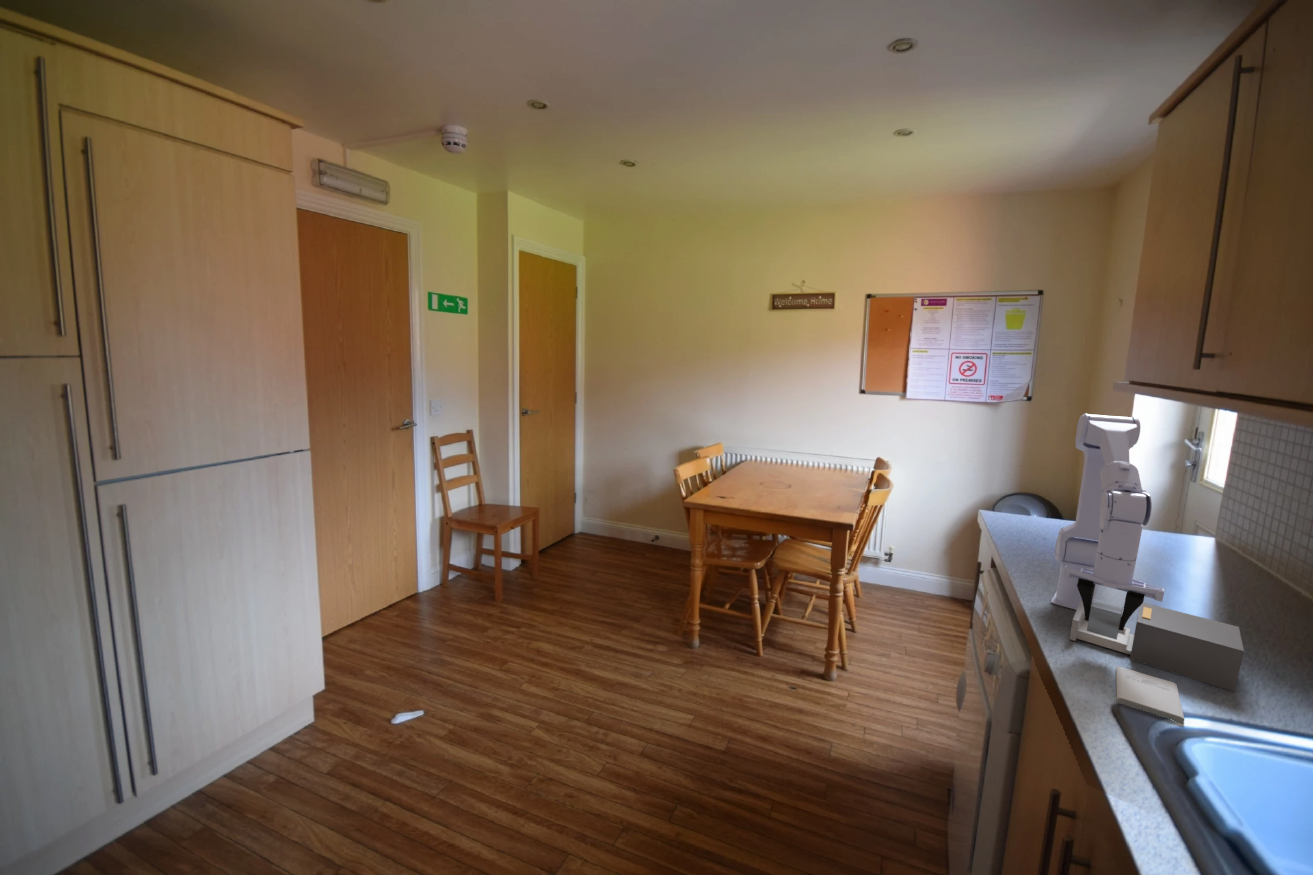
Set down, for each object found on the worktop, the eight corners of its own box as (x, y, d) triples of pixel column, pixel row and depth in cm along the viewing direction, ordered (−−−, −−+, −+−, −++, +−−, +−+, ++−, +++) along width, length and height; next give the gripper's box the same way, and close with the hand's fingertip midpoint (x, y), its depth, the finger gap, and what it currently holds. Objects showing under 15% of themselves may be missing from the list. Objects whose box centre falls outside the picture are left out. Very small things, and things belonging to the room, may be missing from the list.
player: (1133, 636, 116) (1140, 600, 114) (1230, 664, 106) (1239, 625, 105) (1129, 659, 107) (1137, 620, 105) (1234, 691, 97) (1244, 649, 96)
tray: (1077, 619, 122) (1080, 600, 121) (1162, 643, 113) (1166, 623, 112) (1069, 639, 113) (1072, 619, 112) (1160, 667, 104) (1164, 645, 103)
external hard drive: (1116, 705, 93) (1115, 673, 103) (1183, 727, 88) (1175, 691, 98) (1117, 696, 93) (1116, 664, 103) (1185, 717, 88) (1177, 682, 98)
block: (1089, 622, 110) (1093, 598, 109) (1118, 631, 107) (1123, 606, 106) (1086, 630, 107) (1091, 605, 106) (1116, 639, 104) (1121, 614, 103)
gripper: (1065, 549, 106) (1054, 617, 108) (1168, 572, 96) (1153, 646, 99) (1070, 540, 111) (1060, 605, 114) (1169, 561, 102) (1155, 632, 104)
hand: (1103, 623), depth 107 cm, fingers closed on block, 4 cm apart
